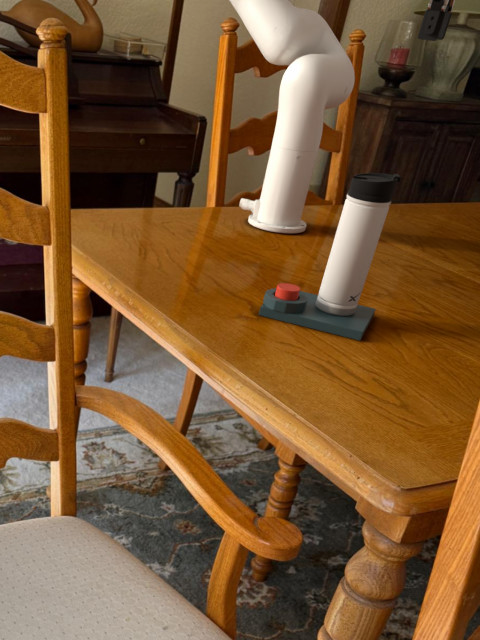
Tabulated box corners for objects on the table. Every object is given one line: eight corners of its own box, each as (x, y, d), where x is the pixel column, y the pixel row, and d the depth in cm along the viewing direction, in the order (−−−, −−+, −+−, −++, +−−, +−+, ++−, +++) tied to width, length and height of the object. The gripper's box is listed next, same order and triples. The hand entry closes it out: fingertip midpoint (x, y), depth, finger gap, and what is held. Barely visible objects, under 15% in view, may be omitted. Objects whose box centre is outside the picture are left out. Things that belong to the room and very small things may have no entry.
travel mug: (358, 319, 113) (404, 180, 100) (316, 312, 113) (356, 174, 101) (355, 305, 118) (398, 171, 105) (314, 299, 118) (352, 165, 106)
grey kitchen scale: (256, 315, 114) (261, 296, 113) (276, 293, 123) (281, 276, 121) (359, 341, 109) (366, 322, 107) (373, 317, 118) (379, 299, 116)
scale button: (271, 298, 113) (274, 287, 112) (277, 292, 116) (280, 281, 115) (294, 304, 112) (297, 292, 111) (299, 297, 115) (302, 286, 114)
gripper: (452, -86, 123) (415, 35, 134) (440, -97, 111) (400, 37, 121) (499, -83, 121) (457, 41, 131) (492, -94, 108) (447, 43, 119)
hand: (430, 39), depth 126 cm, fingers open, 9 cm apart
